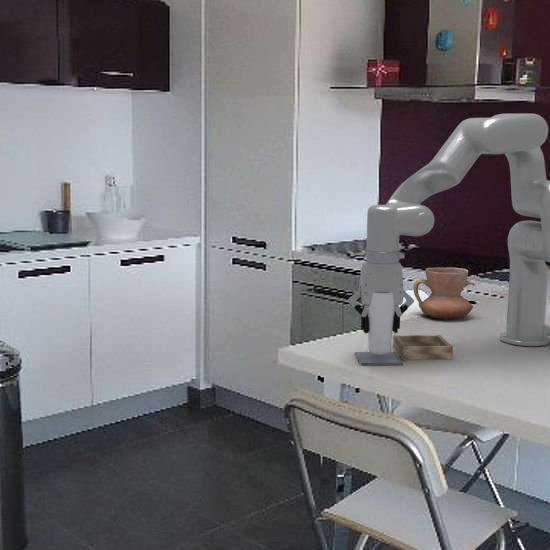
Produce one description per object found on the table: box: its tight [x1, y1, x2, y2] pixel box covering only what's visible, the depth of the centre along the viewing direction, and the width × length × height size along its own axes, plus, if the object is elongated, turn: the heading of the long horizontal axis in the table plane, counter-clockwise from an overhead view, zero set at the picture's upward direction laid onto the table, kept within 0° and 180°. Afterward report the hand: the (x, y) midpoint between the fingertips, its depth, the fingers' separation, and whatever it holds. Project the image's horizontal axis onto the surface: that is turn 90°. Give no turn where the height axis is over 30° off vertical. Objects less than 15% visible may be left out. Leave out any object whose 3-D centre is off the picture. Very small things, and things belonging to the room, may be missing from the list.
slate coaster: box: [354, 351, 405, 367], centre depth 203 cm, size 10×10×1 cm
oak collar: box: [392, 334, 454, 360], centre depth 209 cm, size 12×12×3 cm
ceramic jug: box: [413, 267, 477, 321], centre depth 249 cm, size 18×14×14 cm
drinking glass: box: [367, 293, 395, 354], centre depth 201 cm, size 7×7×15 cm
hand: (380, 331), depth 202 cm, fingers closed on drinking glass, 6 cm apart
